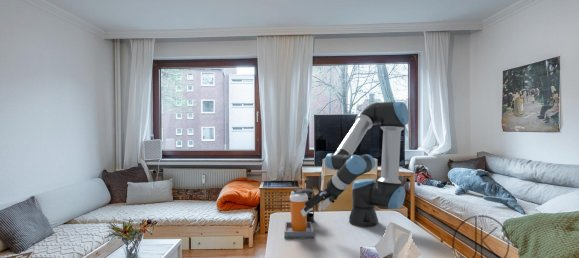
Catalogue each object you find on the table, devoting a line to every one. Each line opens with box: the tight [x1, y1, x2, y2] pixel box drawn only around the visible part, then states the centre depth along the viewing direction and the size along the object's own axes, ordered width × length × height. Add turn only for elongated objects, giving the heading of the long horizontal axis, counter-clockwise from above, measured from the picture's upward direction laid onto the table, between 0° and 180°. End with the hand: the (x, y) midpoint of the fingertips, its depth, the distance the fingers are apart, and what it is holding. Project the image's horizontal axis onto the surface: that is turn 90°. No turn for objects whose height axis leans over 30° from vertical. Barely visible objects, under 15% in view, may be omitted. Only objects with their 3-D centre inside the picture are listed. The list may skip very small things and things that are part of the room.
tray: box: [284, 221, 314, 239], centre depth 146 cm, size 14×14×3 cm
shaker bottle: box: [289, 189, 309, 231], centre depth 146 cm, size 9×9×20 cm
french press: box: [296, 178, 315, 224], centre depth 163 cm, size 12×9×23 cm
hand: (312, 210), depth 139 cm, fingers open, 13 cm apart
